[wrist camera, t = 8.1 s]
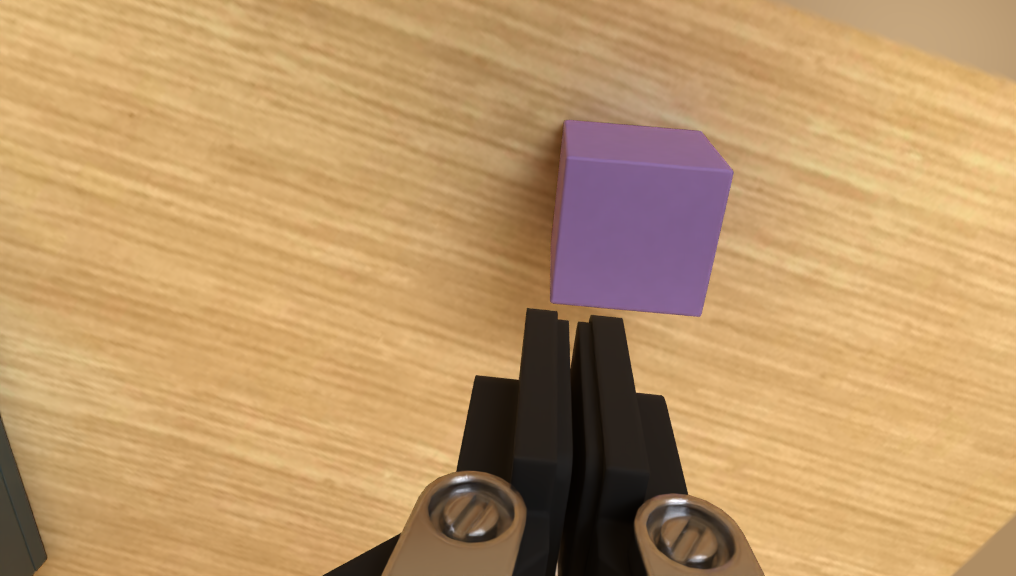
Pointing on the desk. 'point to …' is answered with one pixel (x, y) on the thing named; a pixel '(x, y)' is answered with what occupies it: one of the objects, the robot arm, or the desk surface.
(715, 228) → the purple rounded cube
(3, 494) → the drawer cabinet
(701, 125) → the desk surface
